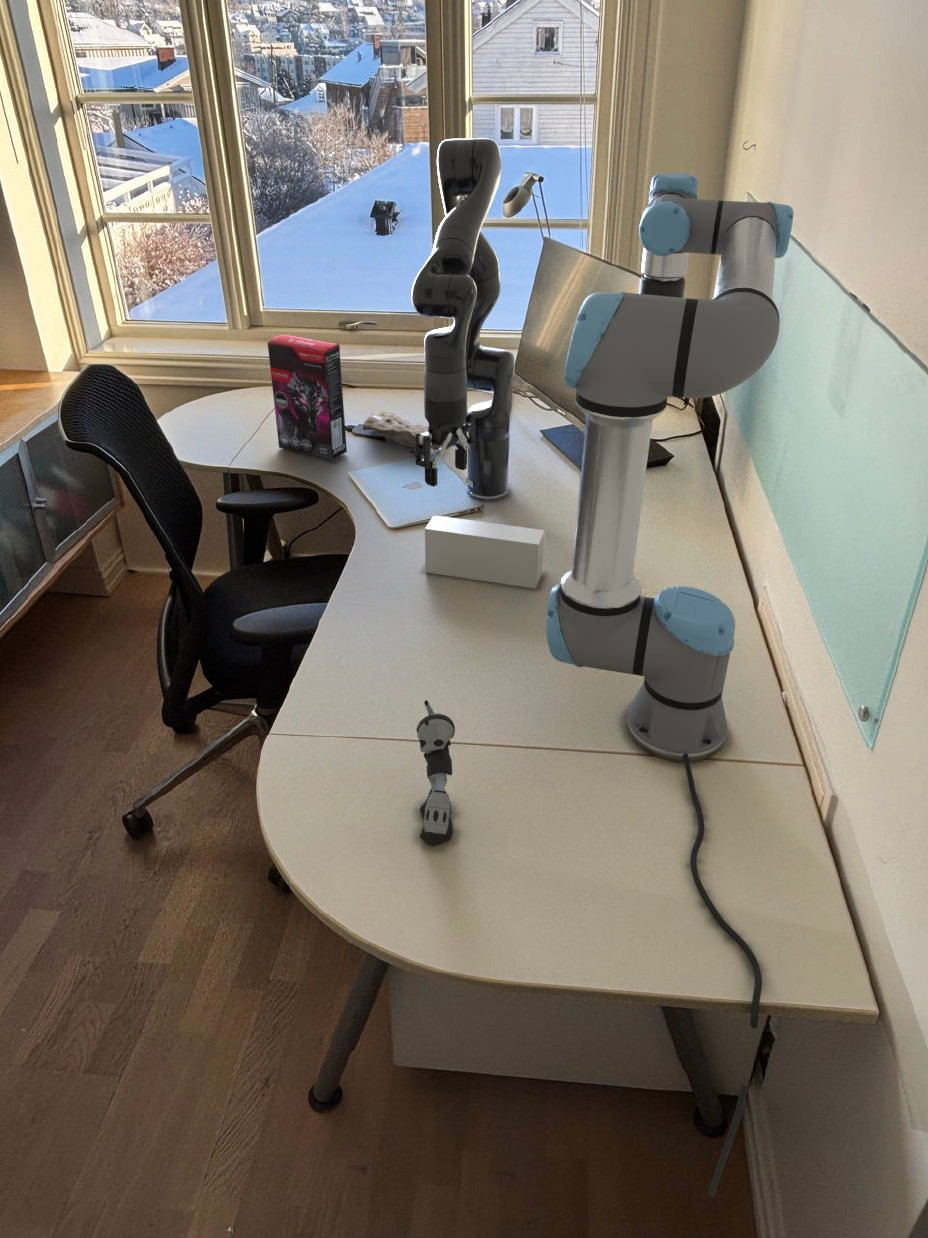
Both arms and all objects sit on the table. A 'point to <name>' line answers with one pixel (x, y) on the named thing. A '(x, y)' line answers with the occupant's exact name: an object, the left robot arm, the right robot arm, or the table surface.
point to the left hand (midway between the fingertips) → (446, 476)
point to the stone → (394, 428)
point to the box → (484, 551)
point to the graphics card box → (308, 395)
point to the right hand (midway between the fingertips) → (647, 398)
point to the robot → (436, 775)
